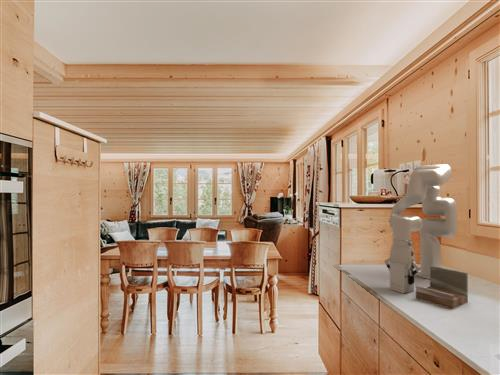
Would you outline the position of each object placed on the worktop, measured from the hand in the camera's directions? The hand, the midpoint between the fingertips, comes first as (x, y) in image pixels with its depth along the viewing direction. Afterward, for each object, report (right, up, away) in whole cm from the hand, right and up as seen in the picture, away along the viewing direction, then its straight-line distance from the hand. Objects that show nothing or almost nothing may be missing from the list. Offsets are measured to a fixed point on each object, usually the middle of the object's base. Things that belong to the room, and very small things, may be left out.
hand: (401, 281), depth 140 cm
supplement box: (0, -4, 0) cm, 4 cm away
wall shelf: (+11, -4, -12) cm, 17 cm away
